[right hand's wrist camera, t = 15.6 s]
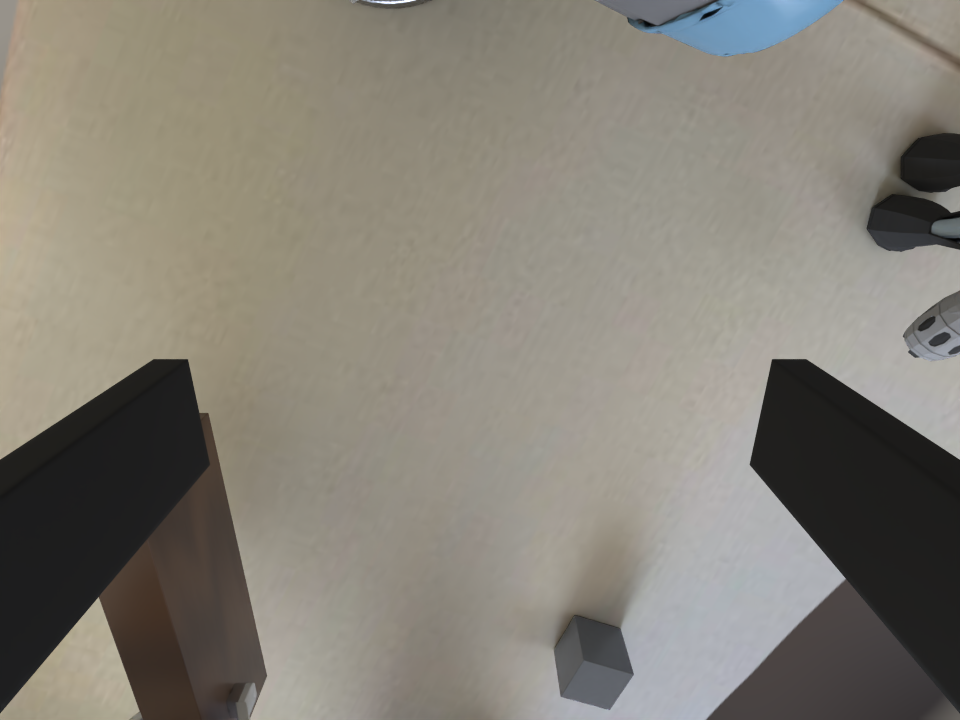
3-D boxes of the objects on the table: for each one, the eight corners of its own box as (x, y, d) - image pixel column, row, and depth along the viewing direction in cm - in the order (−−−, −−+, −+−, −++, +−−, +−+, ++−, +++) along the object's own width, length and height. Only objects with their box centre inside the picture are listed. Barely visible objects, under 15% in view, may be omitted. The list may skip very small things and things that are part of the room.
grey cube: (574, 614, 53) (583, 660, 48) (620, 628, 53) (634, 674, 49) (553, 649, 54) (560, 697, 50) (598, 662, 55) (609, 710, 50)
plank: (151, 413, 38) (59, 489, 30) (208, 412, 38) (132, 488, 30) (222, 676, 48) (167, 789, 39) (267, 675, 48) (221, 788, 39)
